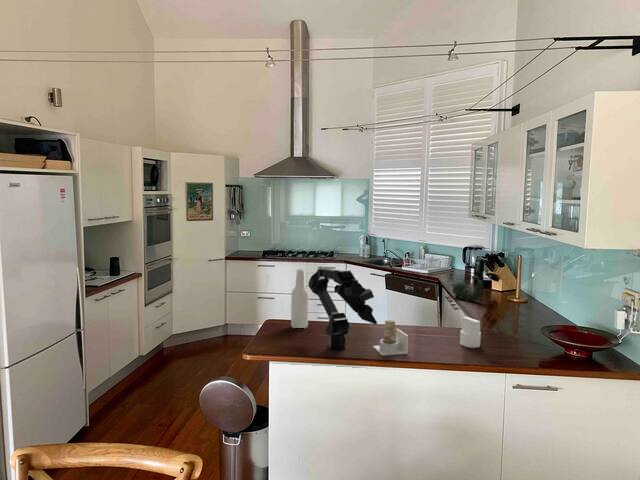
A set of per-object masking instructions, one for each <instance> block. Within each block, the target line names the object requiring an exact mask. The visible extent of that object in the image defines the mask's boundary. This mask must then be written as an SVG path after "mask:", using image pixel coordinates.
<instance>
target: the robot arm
mask: <svg viewBox="0 0 640 480" xmlns="http://www.w3.org/2000/svg"><path fill="white" fill-rule="evenodd" d="M330 279H331V280H333V282H334V283H336V285H335V286H334V288H333V289H334V294H338V296H340V298H341V299H342V300H343V301H344V302H345V303H346V304H347V305H348V306H349V307H350V309H351V310H352V311H354V313H357V316H358V317H359V318H360V319H361V320H362V321H365V322H368V323H370V324H373V325H377V324H378V321H377V320H376V318H375V316H374V315H373V313H374V309H373V307H371V306H370V305H369V304H366V301H369V300H370V299H373V298H375V296H374V294H373V291H372V289H371V288H365V287H364V286H363V285H362V284H361V283H360V282H359V280H358V279H356V277H355V275H354V274H353V272H352V271H351V269H349V268H348V269H331V268H327V267H321V268H318V269H317V270H316V272H314V273H313V274H312V275H311V276H310V278H309V280H308V287H309V289H310V290H311V292H312V293H313V294H314V295H317V296H318V298H319V300H320V302H321V303H320V304H322V306H323V308H324V311H325V313H326V315H327V316H328V319H329V320H328V323H327V324H328V325H327V327H326V328H325V333H326V334H327V336H328V344H327V346H328V348H329V349H330V350H331V351H336V350H346V337H345V335H348V333H349V330H350V323H349V321H348V317H346V314H345V313H344V312H339V311H338V308H337V307H336V305H335V303H334V301H333V299H332V297H331V295H330V294H329V291H328V287H329V286H328V285H329V282H330Z"/></svg>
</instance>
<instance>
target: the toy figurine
mask: <svg viewBox="0 0 640 480" xmlns="http://www.w3.org/2000/svg"><path fill="white" fill-rule="evenodd" d="M471 279H472V280H473V279H475V280H476V281H477V283H476V285H475V288H474V291H471V290H470V289H469V288H468V287H467V285H466V284H465V283H463V282H460V281H458V282H456V283H450V285H451V287H452V293H453V294H454V297H455V298H456V299H461V300H463V301H464V300H465V301H466V302H469V301H472V302H475V301H477V302H478V301H479V298H482V297H483V294H481V293H483V292H484V290H483V289H482V288H484V285H483V284H485V282H484V281H483V280H481V279H480V277H479V276H477V275H473V276H472V277H471Z"/></svg>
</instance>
